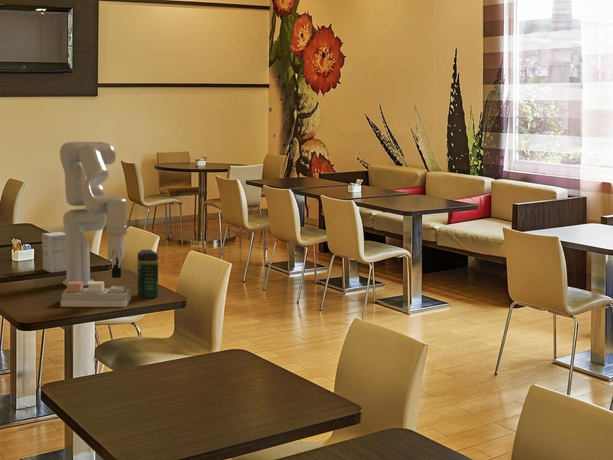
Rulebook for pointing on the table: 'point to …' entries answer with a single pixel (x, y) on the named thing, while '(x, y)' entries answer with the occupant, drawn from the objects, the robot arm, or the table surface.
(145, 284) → the coffee jar
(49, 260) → the supplement box
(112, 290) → the sage key
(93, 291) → the cream key
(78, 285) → the terracotta key
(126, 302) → the keypad
